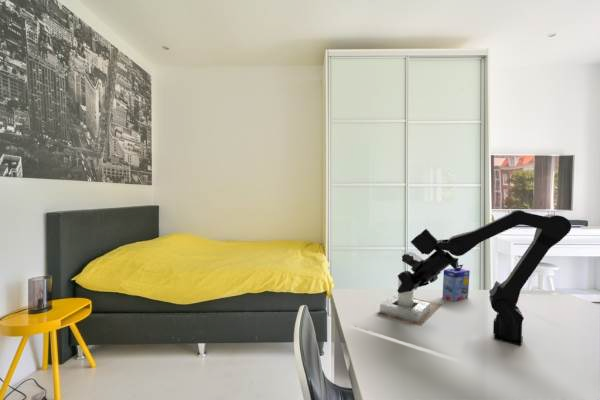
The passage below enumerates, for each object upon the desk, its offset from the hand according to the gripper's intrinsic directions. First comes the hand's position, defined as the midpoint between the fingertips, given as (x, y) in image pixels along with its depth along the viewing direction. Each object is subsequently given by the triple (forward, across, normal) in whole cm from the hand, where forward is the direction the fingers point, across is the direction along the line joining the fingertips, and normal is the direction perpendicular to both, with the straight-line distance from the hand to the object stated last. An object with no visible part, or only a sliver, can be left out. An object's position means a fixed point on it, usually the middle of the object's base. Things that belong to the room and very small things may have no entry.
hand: (402, 290), depth 109 cm
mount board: (+5, -4, +7) cm, 9 cm away
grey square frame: (+4, 0, +6) cm, 7 cm away
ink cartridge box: (+1, -30, +11) cm, 32 cm away
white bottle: (+4, 0, +6) cm, 7 cm away
